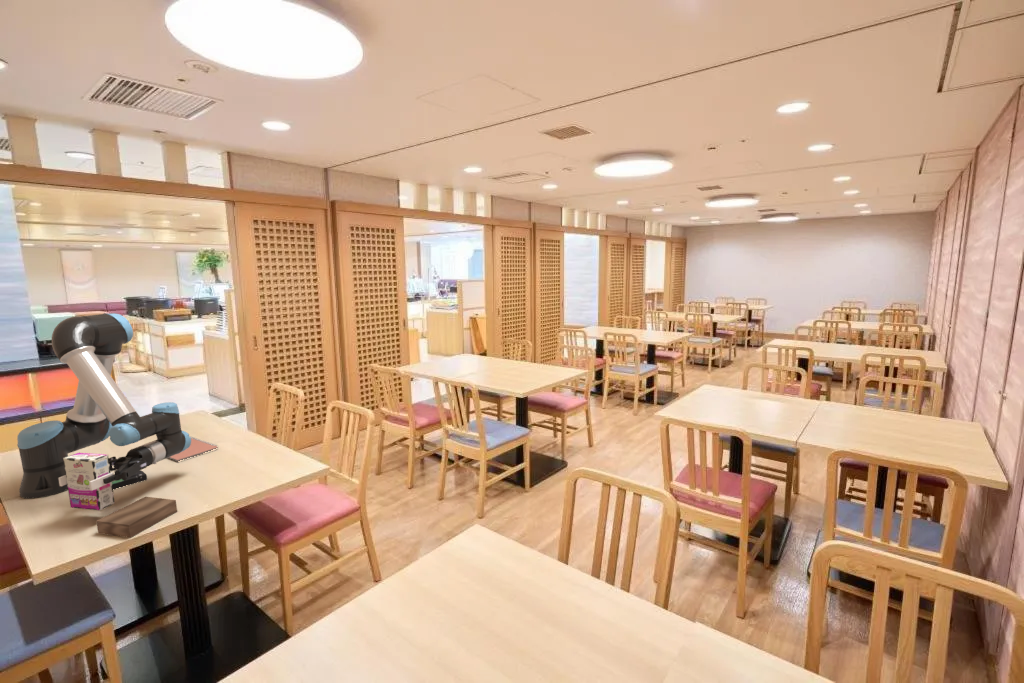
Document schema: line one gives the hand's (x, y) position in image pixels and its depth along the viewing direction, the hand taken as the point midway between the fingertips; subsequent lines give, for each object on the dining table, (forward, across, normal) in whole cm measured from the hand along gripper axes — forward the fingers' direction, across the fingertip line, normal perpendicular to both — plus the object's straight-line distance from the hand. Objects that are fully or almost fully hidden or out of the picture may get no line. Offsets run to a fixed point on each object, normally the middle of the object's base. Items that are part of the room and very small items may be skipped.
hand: (75, 484), depth 141 cm
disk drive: (-25, +18, -14) cm, 34 cm away
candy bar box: (-4, 0, -9) cm, 10 cm away
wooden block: (-5, -16, -13) cm, 21 cm away
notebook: (-57, +23, -15) cm, 63 cm away
